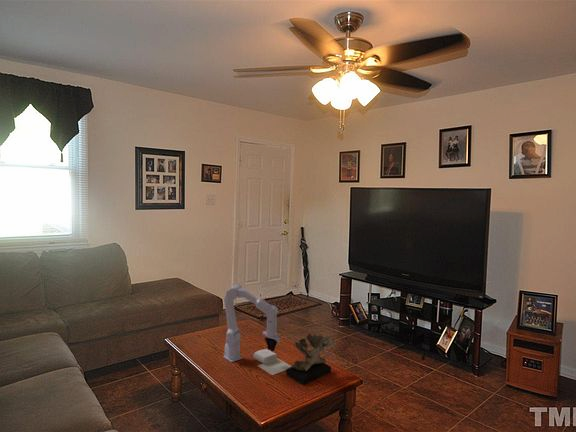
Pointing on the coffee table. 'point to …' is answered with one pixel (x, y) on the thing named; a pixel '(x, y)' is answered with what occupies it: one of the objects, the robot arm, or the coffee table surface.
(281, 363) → the mat
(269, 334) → the robot arm
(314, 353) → the coral
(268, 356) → the photo printer
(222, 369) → the coffee table surface
